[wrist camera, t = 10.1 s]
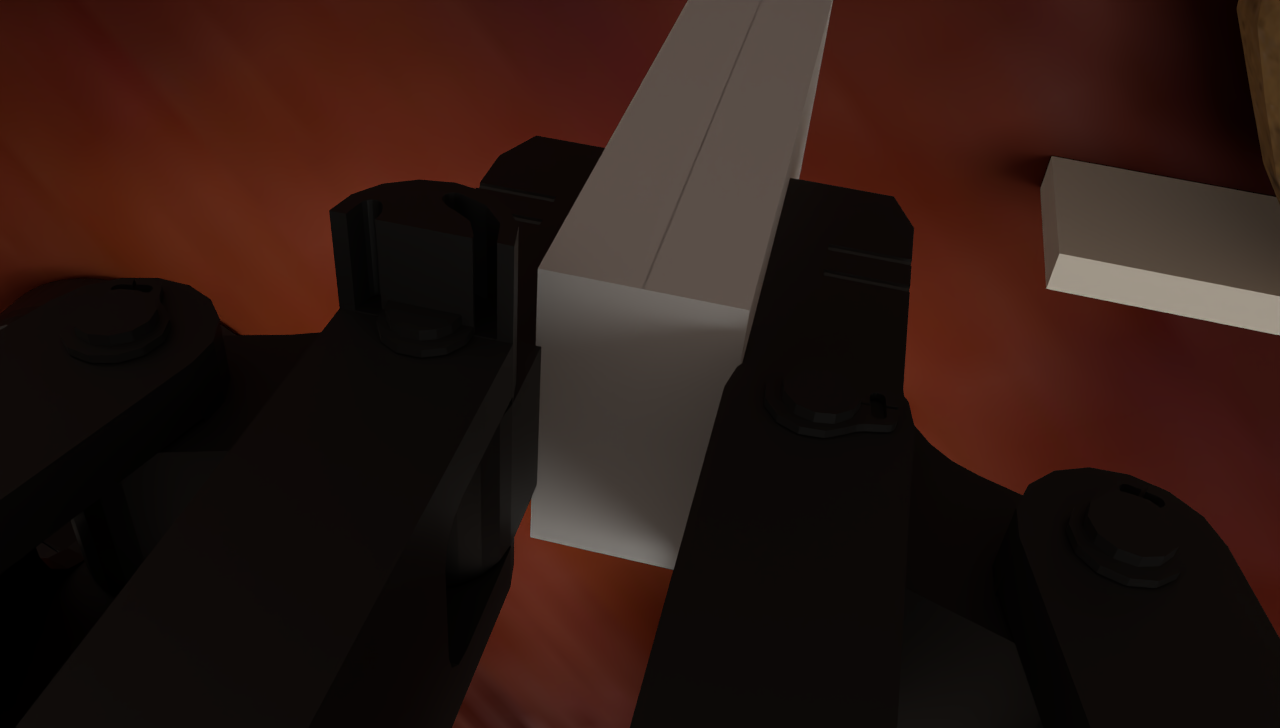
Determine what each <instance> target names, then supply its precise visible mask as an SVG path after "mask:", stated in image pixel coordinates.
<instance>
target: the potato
mask: <svg viewBox="0 0 1280 728" xmlns="http://www.w3.org/2000/svg"><path fill="white" fill-rule="evenodd" d="M1236 9H1237V15H1238V21H1239V27H1240V33H1241V38H1242V44H1243V50H1244V56H1245V62H1246V68H1247V74H1248V80H1249V86H1250V92H1251V97H1252V103H1253V109H1254V114H1255V120H1256V126H1257V131H1258V137H1259V142H1260V148H1261V154H1262V159H1263V164H1264V167H1265V169H1266V172H1267V174H1268V177H1269V179H1270V182H1271V184H1272V187H1273V189H1274V192H1275V194H1276V197H1277V199H1278V202H1279V204H1280V0H1238V4H1237V8H1236Z"/></svg>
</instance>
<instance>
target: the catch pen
mask: <svg viewBox="0 0 1280 728" xmlns="http://www.w3.org/2000/svg"><path fill="white" fill-rule="evenodd" d="M1040 193H1041V209H1042V226H1043V242H1044V259H1045V275H1046V289H1051V290H1056V291H1061V292H1066V293H1071V294H1076V295H1081V296H1086V297H1091V298H1096V299H1101V300H1106V301H1111V302H1116V303H1121V304H1126V305H1131V306H1136V307H1141V308H1146V309H1151V310H1156V311H1161V312H1166V313H1171V314H1176V315H1181V316H1186V317H1191V318H1196V319H1201V320H1206V321H1211V322H1216V323H1221V324H1226V325H1231V326H1236V327H1241V328H1246V329H1251V330H1256V331H1261V332H1266V333H1271V334H1276V335H1280V204H1279V202H1278V199H1277V197H1273V196H1267V195H1262V194H1256V193H1251V192H1246V191H1240V190H1235V189H1229V188H1224V187H1218V186H1213V185H1207V184H1202V183H1196V182H1191V181H1185V180H1180V179H1174V178H1169V177H1164V176H1158V175H1153V174H1147V173H1142V172H1136V171H1131V170H1125V169H1120V168H1114V167H1109V166H1103V165H1098V164H1092V163H1087V162H1081V161H1076V160H1071V159H1065V158H1060V157H1054V156H1051V159H1050V162H1049V165H1048V168H1047V171H1046V174H1045V177H1044V179H1043V182H1042V185H1041V188H1040Z"/></svg>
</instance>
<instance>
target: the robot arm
mask: <svg viewBox="0 0 1280 728" xmlns="http://www.w3.org/2000/svg"><path fill="white" fill-rule="evenodd" d="M832 3H833V0H688V1H687V3H686V5H685V7H684V8H683V10H682V12H681V14H680V16H679V17H678V19H677V21H676V23H675V25H674V26H673V28H672V30H671V32H670V33H669V35H668V37H667V39H666V41H665V42H664V44H663V46H662V48H661V50H660V51H659V53H658V55H657V57H656V58H655V60H654V62H653V64H652V66H651V67H650V69H649V71H648V73H647V75H646V76H645V78H644V80H643V82H642V83H641V85H640V87H639V89H638V91H637V92H636V94H635V96H634V98H633V100H632V101H631V103H630V105H629V107H628V108H627V110H626V112H625V114H624V116H623V117H622V119H621V121H620V123H619V124H618V126H617V128H616V130H615V132H614V133H613V135H612V137H611V139H610V141H609V142H608V144H607V146H606V148H601V147H596V146H590V145H585V144H579V143H574V142H568V141H563V140H557V139H552V138H546V137H541V136H535V137H533V138H531V139H529V140H527V141H526V142H524V143H522V144H520V145H518V146H516V147H514V148H513V149H511V150H509V151H507V152H505V153H503V154H501V155H500V156H499V157H498V158H497V160H496V161H495V162H494V164H493V165H492V167H491V168H490V169H489V171H488V172H487V174H486V175H485V176H484V178H483V179H482V181H481V182H480V187H479V188H476V189H474V188H471V187H467V186H464V185H461V184H458V183H453V182H441V181H429V180H412V181H403V182H394V183H385V184H381V185H378V186H375V187H372V188H369V189H366V190H363V191H360V192H357V193H354V194H351V195H350V196H349V197H347V198H346V199H345V200H343V201H342V202H340V203H339V204H338V205H336V206H335V207H333V208H332V209H331V210H329V212H330V222H331V231H332V240H333V250H334V259H335V268H336V278H337V287H338V296H339V306H340V309H339V310H338V311H337V313H336V314H335V315H334V317H333V318H332V319H331V320H330V322H329V323H328V324H327V326H326V327H325V328H324V330H323V331H322V332H320V333H308V334H296V335H235V334H234V333H232V332H231V331H229V330H228V329H227V328H225V327H224V326H222V325H221V324H220V319H219V317H218V314H217V312H216V310H215V308H214V306H213V303H212V301H211V299H209V298H208V297H206V296H205V295H203V294H201V293H200V292H198V291H197V290H195V289H194V288H192V287H191V286H189V285H185V284H181V283H177V282H173V281H168V280H164V279H160V278H120V279H114V280H110V281H109V280H101V279H68V280H61V281H56V282H51V283H48V284H45V285H42V286H39V287H37V288H35V289H33V290H31V291H29V292H27V293H26V294H24V295H23V296H22V297H20V298H19V299H18V300H16V301H15V302H14V303H13V304H12V305H10V306H9V307H8V308H7V309H6V310H4V311H3V312H2V313H1V314H0V728H452V726H453V723H454V721H455V718H456V716H457V714H458V711H459V709H460V706H461V704H462V702H463V699H464V697H465V694H466V692H467V690H468V687H469V685H470V682H471V680H472V678H473V675H474V673H475V670H476V668H477V666H478V663H479V661H480V658H481V656H482V654H483V651H484V649H485V646H486V644H487V642H488V639H489V637H490V634H491V632H492V630H493V627H494V625H495V622H496V620H497V618H498V615H499V613H500V610H501V608H502V605H503V603H504V601H505V598H506V596H507V593H508V591H509V589H510V585H511V579H512V572H513V566H514V536H515V534H516V532H517V529H518V527H519V525H520V522H521V520H522V518H523V516H524V513H525V511H526V509H527V506H528V504H529V502H530V499H531V533H530V537H532V538H537V539H541V540H545V541H550V542H554V543H558V544H563V545H567V546H571V547H576V548H580V549H584V550H589V551H593V552H598V553H602V554H606V555H611V556H615V557H619V558H624V559H628V560H632V561H637V562H641V563H645V564H650V565H654V566H659V567H663V568H667V569H672V570H673V574H672V577H671V581H670V585H669V588H668V592H667V595H666V599H665V603H664V606H663V610H662V614H661V617H660V621H659V624H658V628H657V632H656V635H655V639H654V642H653V646H652V650H651V653H650V657H649V661H648V664H647V668H646V671H645V675H644V679H643V682H642V686H641V690H640V693H639V697H638V700H637V704H636V708H635V711H634V715H633V718H632V722H631V726H630V728H1280V638H1279V637H1278V635H1277V633H1276V631H1275V630H1274V628H1273V626H1272V624H1271V622H1270V621H1269V619H1268V617H1267V615H1266V614H1265V612H1264V610H1263V608H1262V606H1261V605H1260V603H1259V601H1258V599H1257V598H1256V596H1255V594H1254V592H1253V591H1252V589H1251V587H1250V585H1249V583H1248V582H1247V580H1246V578H1245V576H1244V575H1243V573H1242V571H1241V569H1240V567H1239V566H1238V564H1237V562H1236V560H1235V559H1234V557H1233V555H1232V553H1231V552H1230V550H1229V548H1228V546H1227V545H1226V544H1225V543H1224V541H1223V540H1222V539H1221V538H1220V537H1219V535H1218V534H1217V533H1216V532H1215V530H1214V529H1213V528H1212V527H1211V525H1210V524H1209V523H1208V522H1207V521H1206V519H1205V518H1204V517H1203V516H1202V515H1200V514H1199V513H1198V512H1196V511H1195V510H1193V509H1192V508H1191V507H1189V506H1188V505H1186V504H1185V503H1184V502H1182V501H1181V500H1180V499H1178V498H1177V497H1175V496H1174V495H1173V494H1171V493H1170V492H1168V491H1166V490H1164V489H1161V488H1159V487H1157V486H1154V485H1152V484H1150V483H1147V482H1145V481H1143V480H1140V479H1138V478H1136V477H1133V476H1131V475H1128V474H1122V473H1117V472H1111V471H1106V470H1100V469H1095V468H1079V469H1069V470H1058V471H1053V472H1051V473H1050V474H1048V475H1046V476H1044V477H1042V478H1040V479H1038V480H1037V481H1035V482H1033V483H1031V484H1029V485H1028V487H1027V489H1026V491H1025V493H1024V494H1023V495H1021V494H1018V493H1016V492H1014V491H1012V490H1009V489H1007V488H1005V487H1003V486H1001V485H998V484H996V483H994V482H992V481H989V480H987V479H985V478H983V477H981V476H978V475H977V474H975V473H973V472H971V471H969V470H967V469H966V468H964V467H962V466H960V465H958V464H956V463H955V462H953V461H951V460H950V459H949V458H947V457H946V456H945V455H944V454H942V453H941V452H940V451H939V450H937V449H936V448H935V447H933V446H932V445H931V444H930V443H929V442H928V441H927V440H926V438H925V437H924V436H923V435H922V434H921V433H920V431H919V430H918V429H917V428H916V427H915V426H914V423H913V419H912V415H911V410H910V406H909V402H908V401H907V399H906V398H905V397H904V393H903V383H904V369H905V354H906V339H907V324H908V309H909V294H910V292H909V288H910V279H911V266H910V265H911V261H912V249H913V234H914V227H913V226H912V224H911V223H910V221H909V220H908V218H907V216H906V215H905V213H904V212H903V210H902V209H901V207H900V206H899V204H898V202H897V201H896V199H895V198H894V197H893V196H887V195H882V194H876V193H871V192H865V191H860V190H854V189H849V188H843V187H838V186H832V185H827V184H821V183H816V182H810V181H805V180H799V176H800V171H801V166H802V160H803V155H804V150H805V145H806V139H807V134H808V129H809V124H810V118H811V113H812V108H813V103H814V97H815V92H816V87H817V82H818V76H819V71H820V66H821V61H822V55H823V50H824V45H825V40H826V34H827V29H828V24H829V19H830V13H831V8H832Z"/></svg>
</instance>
